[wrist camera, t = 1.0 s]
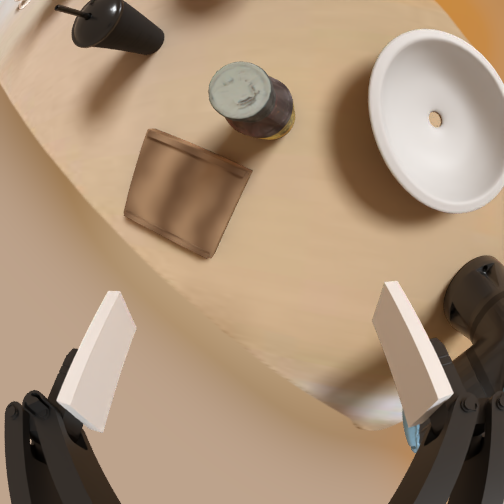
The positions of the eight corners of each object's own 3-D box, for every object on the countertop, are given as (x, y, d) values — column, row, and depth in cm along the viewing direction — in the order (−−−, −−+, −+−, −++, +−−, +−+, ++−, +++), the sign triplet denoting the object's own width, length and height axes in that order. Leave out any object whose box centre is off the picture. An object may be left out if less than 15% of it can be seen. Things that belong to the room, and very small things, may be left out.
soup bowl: (476, 216, 32) (498, 231, 26) (344, 179, 34) (353, 190, 29) (495, 79, 21) (519, 77, 16) (362, 20, 24) (373, 2, 18)
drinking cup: (162, 65, 31) (64, 38, 13) (123, 60, 31) (25, 43, 13) (180, 22, 28) (97, -30, 10) (140, 19, 27) (52, -17, 10)
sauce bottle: (294, 140, 33) (289, 149, 16) (247, 138, 34) (191, 147, 17) (296, 93, 31) (292, 50, 13) (248, 91, 31) (193, 54, 14)
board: (252, 170, 36) (249, 173, 34) (214, 252, 42) (210, 260, 40) (154, 128, 35) (145, 129, 33) (130, 209, 42) (121, 214, 39)
